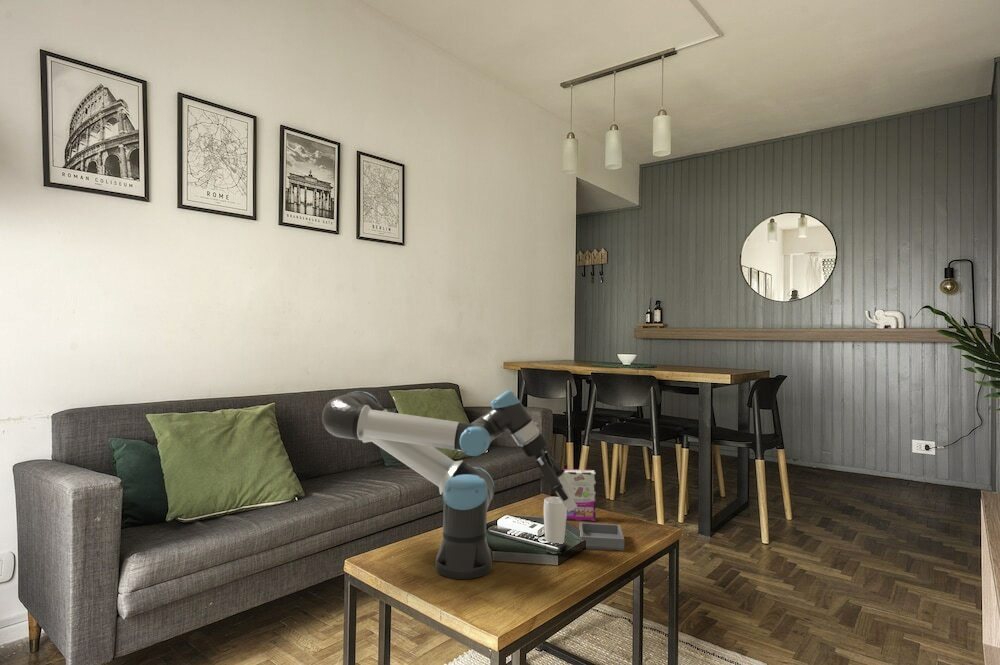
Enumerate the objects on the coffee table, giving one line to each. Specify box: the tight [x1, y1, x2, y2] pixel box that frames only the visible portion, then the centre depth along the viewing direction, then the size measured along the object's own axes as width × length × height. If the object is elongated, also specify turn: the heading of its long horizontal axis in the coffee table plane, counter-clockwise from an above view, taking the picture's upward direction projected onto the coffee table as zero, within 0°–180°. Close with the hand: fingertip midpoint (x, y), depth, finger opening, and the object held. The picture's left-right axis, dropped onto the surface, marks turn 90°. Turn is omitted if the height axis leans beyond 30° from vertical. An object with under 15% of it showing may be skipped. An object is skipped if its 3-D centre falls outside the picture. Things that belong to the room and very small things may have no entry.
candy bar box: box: [562, 468, 597, 522], centre depth 192 cm, size 11×5×16 cm, turn 84°
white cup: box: [543, 496, 567, 544], centre depth 162 cm, size 7×7×15 cm
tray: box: [578, 521, 625, 552], centre depth 170 cm, size 13×13×4 cm
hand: (572, 501), depth 160 cm, fingers open, 13 cm apart
